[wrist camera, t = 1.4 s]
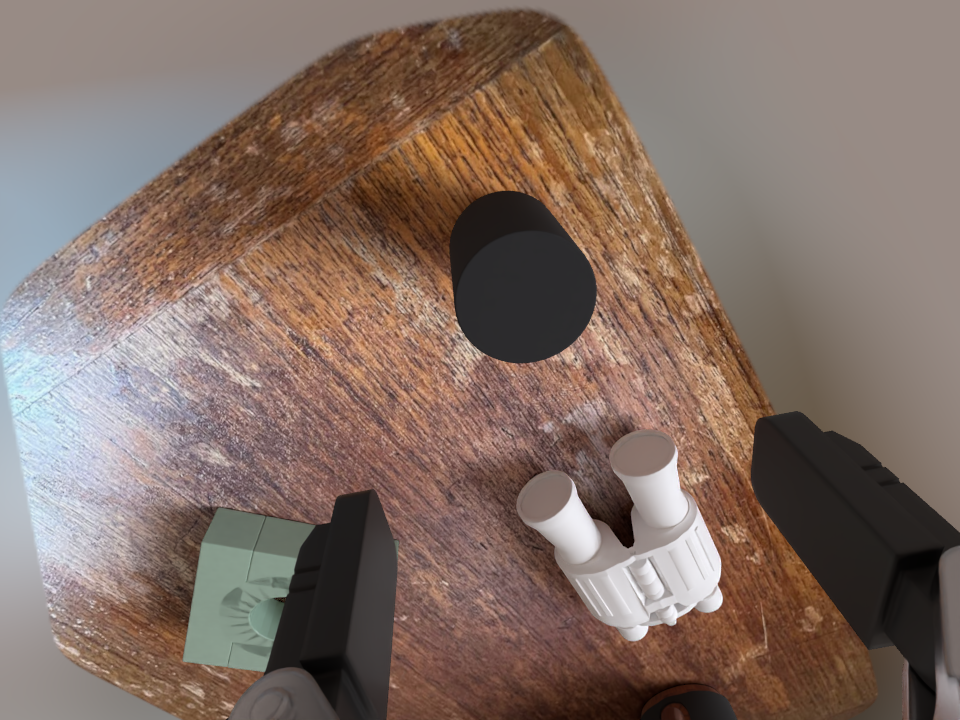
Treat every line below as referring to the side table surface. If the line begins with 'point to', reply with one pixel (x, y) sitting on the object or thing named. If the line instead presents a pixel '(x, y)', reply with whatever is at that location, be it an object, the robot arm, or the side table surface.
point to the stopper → (518, 279)
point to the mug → (688, 704)
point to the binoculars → (657, 533)
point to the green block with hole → (242, 588)
